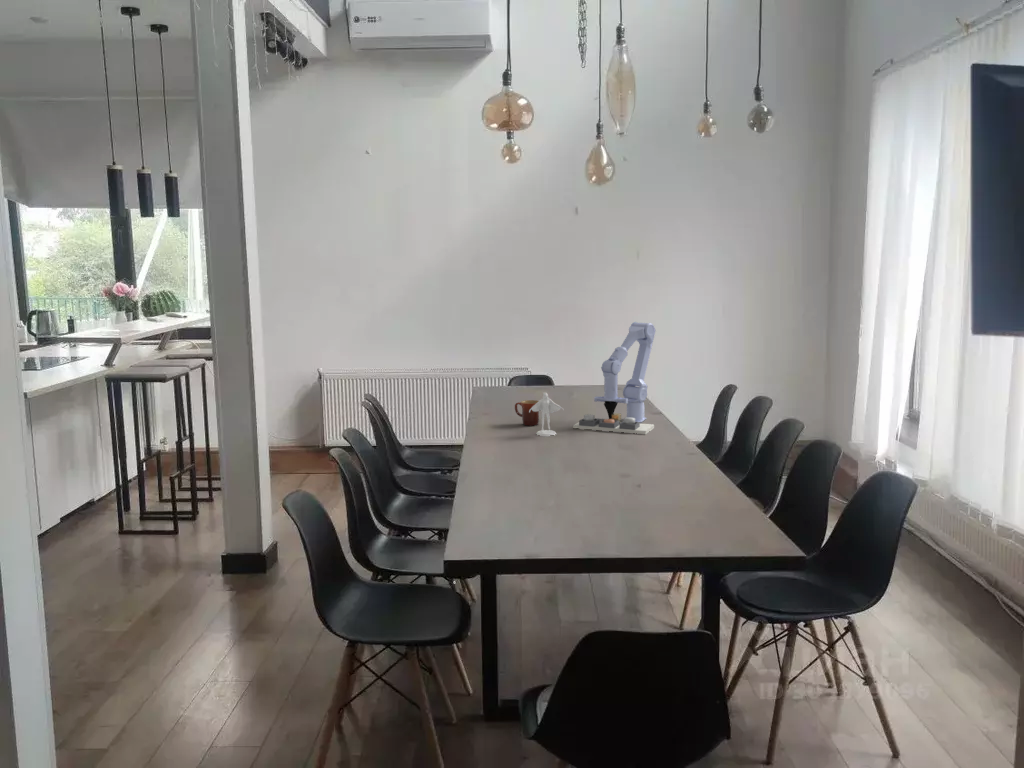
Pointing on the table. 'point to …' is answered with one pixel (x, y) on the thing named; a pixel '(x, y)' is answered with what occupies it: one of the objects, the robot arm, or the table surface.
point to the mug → (527, 417)
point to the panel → (614, 426)
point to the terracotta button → (609, 421)
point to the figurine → (546, 408)
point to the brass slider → (616, 416)
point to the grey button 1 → (589, 417)
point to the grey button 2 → (629, 420)
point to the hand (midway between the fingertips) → (610, 418)
